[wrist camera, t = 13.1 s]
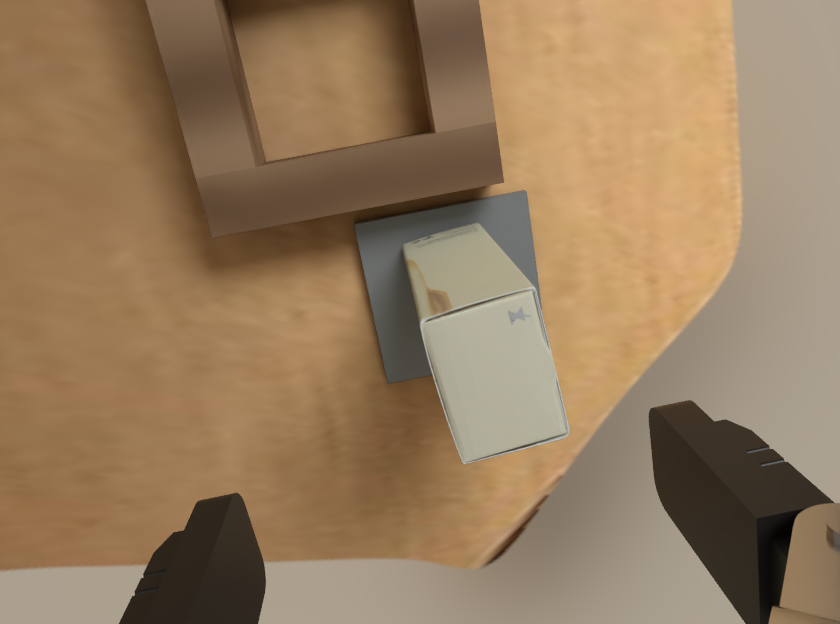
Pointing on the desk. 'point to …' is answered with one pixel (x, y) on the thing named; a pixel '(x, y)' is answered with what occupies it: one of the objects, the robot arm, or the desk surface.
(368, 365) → the desk surface
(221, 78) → the collar
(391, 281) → the mat
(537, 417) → the skincare box
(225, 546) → the robot arm
